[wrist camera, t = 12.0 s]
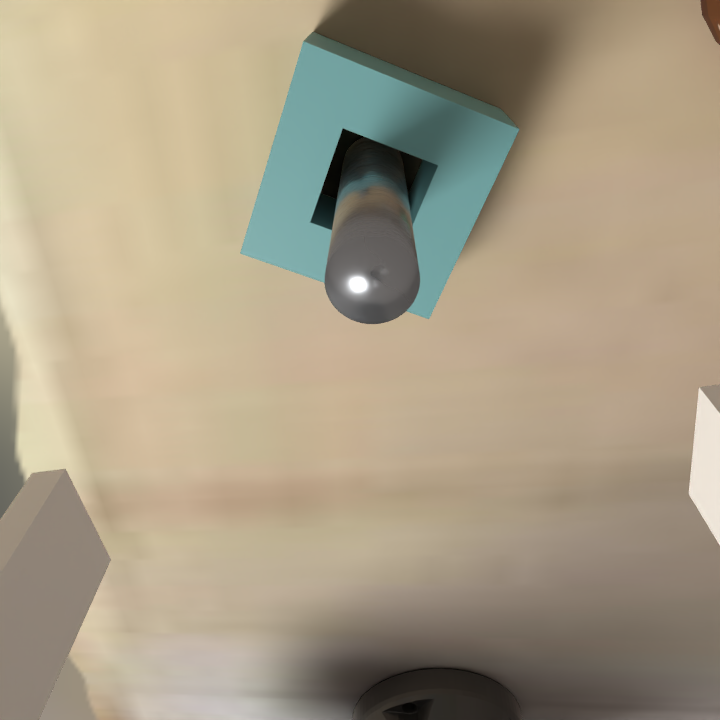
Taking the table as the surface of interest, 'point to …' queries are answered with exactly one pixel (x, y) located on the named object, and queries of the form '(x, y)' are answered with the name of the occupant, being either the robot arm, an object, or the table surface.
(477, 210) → the drilled block
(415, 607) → the table surface
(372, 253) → the long pin
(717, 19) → the food container
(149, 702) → the table surface
